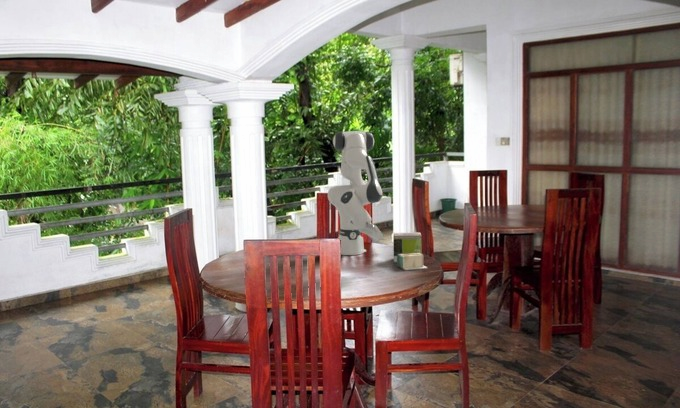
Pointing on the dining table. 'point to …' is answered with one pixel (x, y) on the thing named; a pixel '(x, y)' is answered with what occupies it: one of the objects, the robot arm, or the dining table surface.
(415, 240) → the tea box
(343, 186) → the robot arm
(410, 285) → the dining table surface
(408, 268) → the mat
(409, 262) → the beech block
